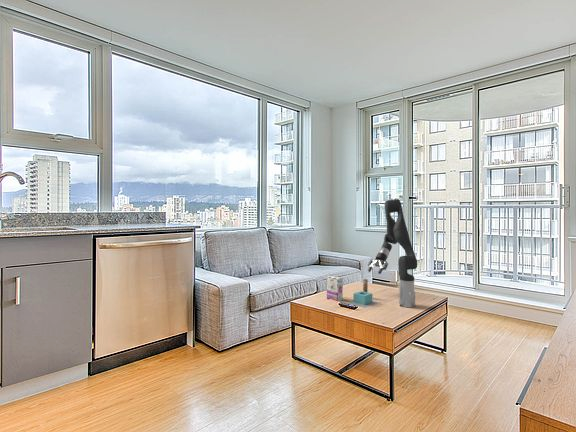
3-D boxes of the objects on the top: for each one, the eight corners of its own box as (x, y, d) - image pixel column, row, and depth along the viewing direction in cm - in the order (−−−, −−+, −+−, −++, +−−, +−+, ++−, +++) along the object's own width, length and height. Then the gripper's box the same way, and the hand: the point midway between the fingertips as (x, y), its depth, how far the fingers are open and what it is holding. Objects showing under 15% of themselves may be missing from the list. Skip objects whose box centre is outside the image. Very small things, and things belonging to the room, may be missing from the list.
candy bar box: (342, 301, 232) (343, 278, 231) (337, 302, 229) (337, 279, 228) (331, 297, 241) (331, 275, 240) (326, 299, 238) (326, 276, 237)
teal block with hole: (372, 302, 226) (372, 293, 226) (364, 305, 220) (364, 296, 220) (361, 299, 233) (361, 290, 233) (353, 302, 227) (353, 293, 227)
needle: (368, 299, 237) (368, 279, 237) (365, 300, 235) (366, 280, 235) (364, 298, 239) (364, 278, 239) (362, 299, 237) (362, 279, 237)
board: (378, 304, 226) (378, 302, 226) (365, 309, 215) (365, 307, 215) (361, 299, 236) (361, 298, 236) (347, 304, 225) (347, 302, 225)
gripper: (372, 250, 254) (363, 267, 247) (389, 253, 244) (380, 270, 236) (376, 257, 258) (367, 274, 251) (393, 259, 247) (384, 277, 240)
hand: (373, 272), depth 244 cm, fingers open, 8 cm apart
